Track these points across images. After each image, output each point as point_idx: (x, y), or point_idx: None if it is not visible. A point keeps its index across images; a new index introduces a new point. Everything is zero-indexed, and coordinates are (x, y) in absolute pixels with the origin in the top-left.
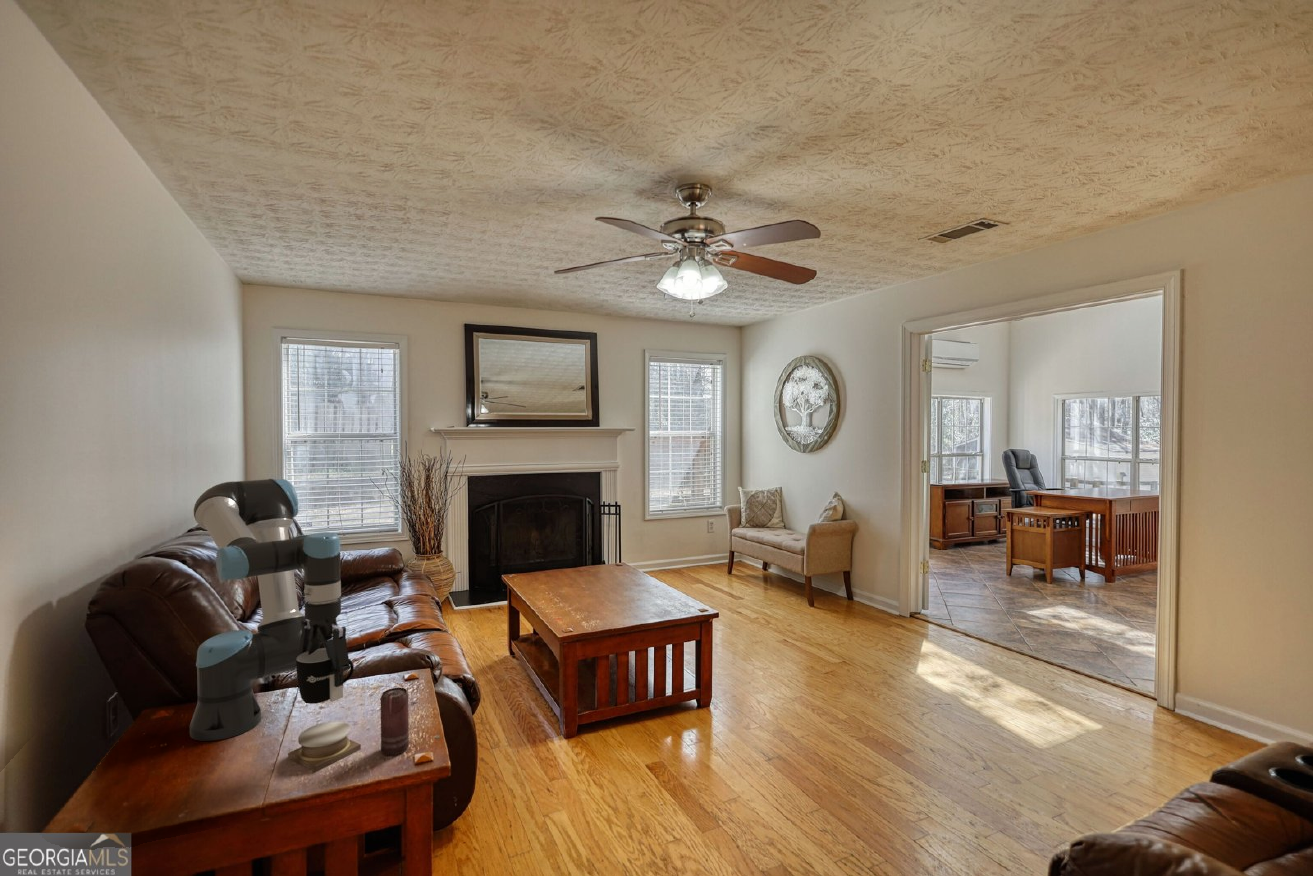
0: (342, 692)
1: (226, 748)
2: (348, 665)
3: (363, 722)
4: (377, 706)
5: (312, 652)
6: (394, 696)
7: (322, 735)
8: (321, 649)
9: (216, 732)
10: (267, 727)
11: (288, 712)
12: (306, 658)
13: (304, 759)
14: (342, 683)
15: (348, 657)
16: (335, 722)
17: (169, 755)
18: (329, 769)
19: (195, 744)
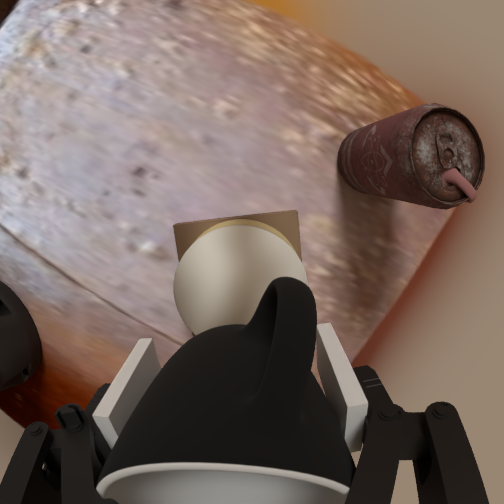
0: (336, 335)
1: (74, 368)
2: (457, 421)
3: (162, 132)
4: (111, 71)
5: (111, 502)
6: (463, 171)
7: (251, 304)
8: (108, 485)
9: (32, 370)
10: (36, 291)
11: (3, 234)
12: (129, 500)
13: None
14: (373, 372)
15: (471, 451)
16: (201, 244)
17: (52, 411)
18: (318, 299)
19: (36, 381)
